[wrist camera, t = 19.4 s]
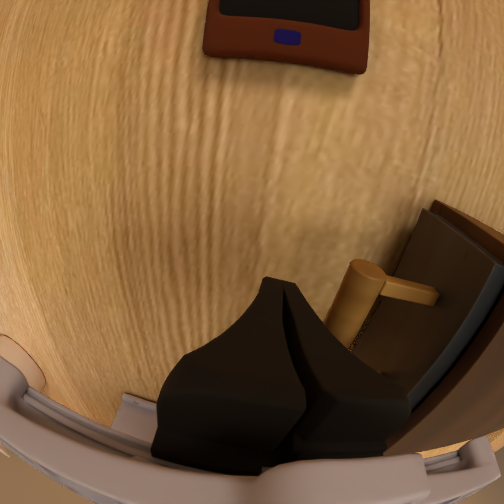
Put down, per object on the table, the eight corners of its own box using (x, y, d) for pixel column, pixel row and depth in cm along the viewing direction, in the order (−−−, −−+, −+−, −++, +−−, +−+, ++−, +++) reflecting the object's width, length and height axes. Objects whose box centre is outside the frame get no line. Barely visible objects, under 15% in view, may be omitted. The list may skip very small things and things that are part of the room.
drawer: (281, 353, 16) (281, 438, 11) (346, 179, 11) (403, 226, 6) (466, 369, 16) (491, 420, 11) (532, 262, 12) (577, 305, 7)
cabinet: (353, 360, 17) (375, 458, 10) (434, 199, 12) (533, 267, 5) (472, 367, 18) (502, 428, 11) (538, 257, 13) (593, 308, 6)
